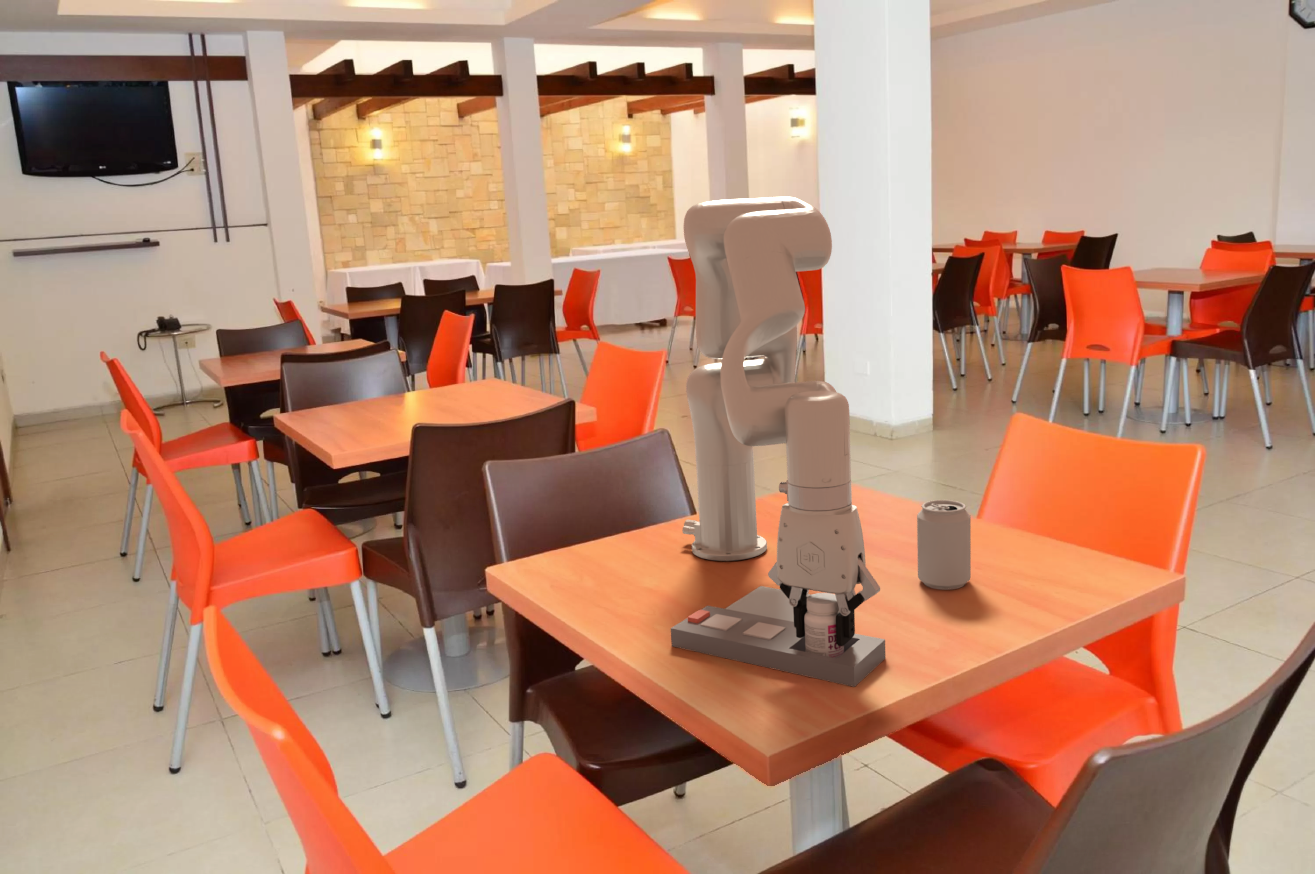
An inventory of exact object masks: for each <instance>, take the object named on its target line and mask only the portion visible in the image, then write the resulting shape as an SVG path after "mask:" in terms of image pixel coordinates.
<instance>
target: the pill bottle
mask: <svg viewBox="0 0 1315 874" xmlns="http://www.w3.org/2000/svg"><path fill="white" fill-rule="evenodd" d="M807 610H808V611H807V612H806V613H805V616H804V623H805V651H806V652H809V653H813V654H818V655H823V656H828V657H833V658H838V657H839V656H841V655H842V654H843V653H844V646H838V644H837V643H836V615H837V614H838V613H839V607H838V603H837V600H836V596H835V594H832V593H825V592H817V593H813V594H810V596H808V597H807Z"/></svg>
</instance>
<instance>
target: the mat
mask: <svg viewBox="0 0 1315 874" xmlns="http://www.w3.org/2000/svg"><path fill="white" fill-rule="evenodd" d="M810 595H811V594H810V593H808V596H810ZM724 609H729V610H734V611H739V612H744V613H750V614H755V615H760V616H765V617H771V618H776V619H781V620H786V621H792V622H794V613H793V606H791V605H790V604H789V599H788V598H787V596H786V595H785V594H784V593H783V592H782V590H781V589H780V588H773V587H768V586H764V585H760V586H758V587H756V588H755V589H754V590H752V591H750V592H749V593H747V594H746V595H744V596H743V597H741V598H739V599H737V600H736V601H735V602H733V603H731V604H730V605H729V606H726V607H725V608H724Z"/></svg>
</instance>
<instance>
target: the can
mask: <svg viewBox="0 0 1315 874" xmlns="http://www.w3.org/2000/svg"><path fill="white" fill-rule="evenodd" d="M920 507H921V510H920V511H919V512H917V515H916V521H917V522H916V523H917V524H916V528H917V531H916V533H917V534H916V537H917V538H916V539H917V545H916V546H917V578H918V579H919V581H921V583H923V584H924V585H925V586H926V587H927V588H931V589H936V590H945V591H946V590H949V591H950V590H956V589H960V588H963V587H964V586H965V585H966V584H967V583H968V582H969V581H971V569H972V568H971V567H972V566H971V557H972V556H971V555H972V553H971V552H972V551H971V548H972V547H971V544H972V542H971V537H972V536H971V532H972V531H971V528H972V527H971V524H972V523H971V521H972V520H971V514H970V513H969V512H968V511H967V509H966V508H967V506H966V504H965V503H963V502H961V501H957V500H951V499H935V500H930V501H929V500H928V501H925V502H924V503H922V504H921V506H920Z"/></svg>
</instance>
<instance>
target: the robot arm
mask: <svg viewBox="0 0 1315 874" xmlns="http://www.w3.org/2000/svg"><path fill="white" fill-rule="evenodd" d="M683 236H684V242H685V245H686V246H685V247H686V248H687V252H688V254H689V256H690V261H691V262H692V265H693V269H694V274H695V337H696V345H697V348H698V350H699V352H700V353H701V354H702V355H703V356H704V357H707V358H709V359H713V360H721V362H712V363H707V364H703V365H700V366H698V367H696V368H695V369H693V370H692V371H691V372H690V373H689V375H688V377H687V379H686V382H685V392H686V393H685V394H686V398H687V403H688V404H687V405H688V408H689V413H690V417H691V418H690V419H691V423H692V431H693V437H694V449H695V451H694V452H695V453H694V454H695V463H696V464H695V465H696V466H695V467H696V468H695V469H696V480H697V481H696V485H697V500H698V519H699V521H697V520H695V519H693V520H692V519H686V520H685V521H684V523H683V527H682V534H684V535H693V536H694V540H693V542H692V543H691V552H692V554H693V555H695V556H696V557H698V558H701V559H705V560H710V561H717V562H719V561H720V562H732V561H742V560H748V559H752V558H754V557H755V558H756V557H757V556H760V555H762V554H763V553H764V552H766V551H767V549H768V542H767V540H766V538H764V537H763V536H761V535H758V527H757V524H758V523H757V507H756V506H757V505H756V504H757V503H756V502H757V501H756V483H755V482H756V481H755V463H754V462H755V461H754V459H755V458H754V456H755V455H754V447H764V446H765V447H766V446H773V445H781V444H782V445H783V444H785V449H786V450H785V451H786V474H787V480H786V481H781V482H779V485H778V490H779V492H780V493H783V494H785V495H786V500H787V503H784V504H782V505H781V511H780V516H779V521H778V522H779V524H778V531H777V541H776V562H775V563H774V564H773V566H772V567H771V569H769V571H768V572H767V576H768V578H769V579H770V580H771V581H772V582H773V583H775V585H776V586H779V589H781V590H782V592H783V593H784V594H785V595H786V596H787V598H788V599H789V604H790V605H791V606H793V613H794V627H795V628H796V637H798V638H802V637H804V636H805V623H804V616H805V613H806V612H807V611H808V610H807V597H808V594H810V593H809V592H810V591H813V592H814V591H815V592H818V593H831V594H835V596H836V600H837V603H838V607H839V613H838V614H837V615H836V643H837V644H838V646H844V645H845V644H846V643H847V642H848V641H850V640H851V639H852V637H853V636H854V634H856V627H855V626H856V625H855V624H856V623H855V618H856V617H855V614H856V613H855V610H856V609H857V608H859V606H861V605H862V604H863V603H864V602H866V601H867V600H869V599H871V598H872V597H874V596H875V595H877V594H878V593H879V592H880V591H881V586H880V585H879V583H878V582H877V581H876V579H875V577H874V576H873V575H872V573H871V572H870V571H869V569H868V568H867V566H866V565H867V564H866V551H865V543H864V534H863V533H864V532H863V529H862V523H861V519H860V515H859V514H860V513H859V511H858V507H857V506H856V504H855V505H853V503H852V502H853V499H852V498H853V497H852V493H853V492H852V491H853V490H852V466H851V465H852V464H851V430H850V429H851V424H850V420H851V419H850V417H851V416H850V404H849V401H848V399H847V397H846V396H844V395H843V394H842V393H840V392H838V391H837V390H836V389H835V388H834V386H833V385H832V384H830V383H829V382H827V381H823V380H808V381H796V382H795V379H796V378H795V377H796V359H797V343H798V341H797V340H798V335H797V334H798V330H797V329H798V328H797V326H798V324H799V323H800V322H801V321H802V320H803V317H804V315H805V311H806V306H805V301H804V297H803V294H802V291H801V287H800V284H799V280H798V276H797V272H807V271H818V270H821V269H822V268H824V267H826V266H827V264H828V263H829V261H830V259H831V256H832V252H833V250H832V249H833V240H832V234H831V230H830V227H829V224H828V222H827V220H826V218H825V217H824V215H823V213H822V212H820V210H819V209H817V208H816V207H814V206H813V205H811V204H810V203H808V202H805V201H803V200H802V199H800V198H797V197H793V196H773V197H772V196H769V197H767V196H766V197H755V198H753V197H752V198H751V197H750V198H731V199H730V198H729V199H719V200H717V199H716V200H709V201H703V202H699V203H695V204H693V205H692V206H691V207H689V208H688V210H686V213H685V215H684V219H683ZM755 357H756V358H757V357H763V358H760V359H748V360H747V359H746V358H755ZM745 359H746V360H745ZM859 584H860V585H861V587H862V590H860V591H859V592H857V593H856V590H855V588H856V586H857V585H859Z"/></svg>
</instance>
